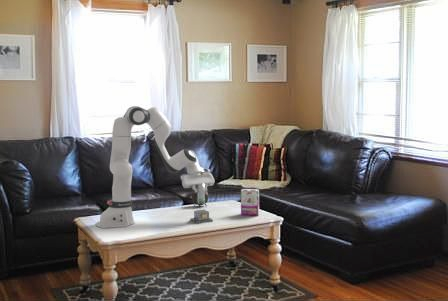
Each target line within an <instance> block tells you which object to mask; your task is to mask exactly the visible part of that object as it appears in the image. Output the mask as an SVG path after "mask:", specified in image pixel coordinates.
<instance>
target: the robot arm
mask: <svg viewBox="0 0 448 301" xmlns="http://www.w3.org/2000/svg"><path fill="white" fill-rule="evenodd" d="M144 124H147V125H148V126H149V128H151V130H152V132H153V134H154V138H153V141H154V145H155V146H156V149H157V151H158V153H159V154H160V157H161V158H162V161H163V163H164V166H165V168H166V170H167V171H168V173H171V174H177V173H178V172H180V171H181V170H182V169H184V168H186V172H187V173H183V174H181V175H180V180H181V184H182V187H183V188H184V189H189V188H190V189H192V190H194V191H195V192H196V193H198V192H199V191H198V184H201V183H204V184H205V192H207V193H208V187H211V186H214V184H215V182H216V181H215V178H214V176H213V174H212V173H211V172H210V170H211V169H209V168H205V167H201V165H200V162H199V158H198V156H197V155H196V153H195V151H193V150H192V149H188V148H184V149H181V150H180V151H179V152H177V153H175V154H174V155H173V156H170V155H169V153H168V150H167V148H166V147H165V142H166V140H167V139H168V138H169V136H170V135H171V132H172V125H171V122H170V121H169V120H168V118H167V116H165V114H164V113H163V112H162V111H161V110H160V109H159V108H158V107H155V106H154V107H150V108H148V109H145V108H143V107H141V106H138V105H137V106H134V105H133V106H130V107H129V108H128V109H127V110H126V111H125V113H124V115H123V116H119V117H116V118H115V119H114V122H113V125H112V126H113V127H112V134H111V152H110V162H109V171H110V172H111V173H112V175H113V176H112V177H113V178H112V187H111V192H112V193H111V194H112V199H111V200H107V202H106V203H107V204H108V206H109V207H107V209H106V210H104V211H102V213H100V217H99V220H98V221H96V224H95V225H96V226H97V227H98V228H100V229H109V228H124V227H125V228H127V227H129V226H130V225H134V223H135V219H134V216H133V199H132V180H133V166H132V164H131V163H130V162H129V158H130V154H131V150H132V129H133V127H134V126H142V125H144Z"/></svg>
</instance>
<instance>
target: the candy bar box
mask: <svg viewBox="0 0 448 301" xmlns="http://www.w3.org/2000/svg"><path fill="white" fill-rule="evenodd" d="M240 215H241V216H249V217H251V216H253V217H254V216H255V217H257V216H259V215H260V190H259V188H258V189H256V188H255V189H254V188H242V189H241V190H240Z"/></svg>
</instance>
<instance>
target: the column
mask: <svg viewBox="0 0 448 301" xmlns="http://www.w3.org/2000/svg"><path fill="white" fill-rule="evenodd" d="M197 189H198V191H199V192H198V198H197V199H198V204H204V205H205V204H206V203H205V184H204V183H201V184H198V187H197Z"/></svg>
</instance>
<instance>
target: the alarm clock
mask: <svg viewBox="0 0 448 301" xmlns="http://www.w3.org/2000/svg"><path fill="white" fill-rule="evenodd" d="M197 198H198V193H196V192H195V190H194V192H193V193H192V195H191V199H192V202H193V203H194V204H193V206H194V207H195V206H199V208H201V206H204V205H205V206H206V207H207V206H208V205H207V202H208V200H209V199H210V198H209V193H208V191H207V192H205V204H198V199H197Z"/></svg>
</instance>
